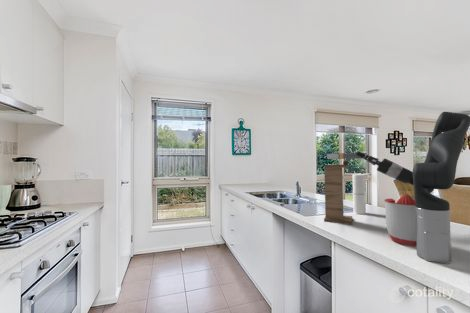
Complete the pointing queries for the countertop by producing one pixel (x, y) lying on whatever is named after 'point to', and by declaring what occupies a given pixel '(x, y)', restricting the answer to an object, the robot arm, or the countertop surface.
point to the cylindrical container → (359, 194)
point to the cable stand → (335, 194)
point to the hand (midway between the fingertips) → (357, 153)
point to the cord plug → (344, 156)
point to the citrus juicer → (401, 220)
